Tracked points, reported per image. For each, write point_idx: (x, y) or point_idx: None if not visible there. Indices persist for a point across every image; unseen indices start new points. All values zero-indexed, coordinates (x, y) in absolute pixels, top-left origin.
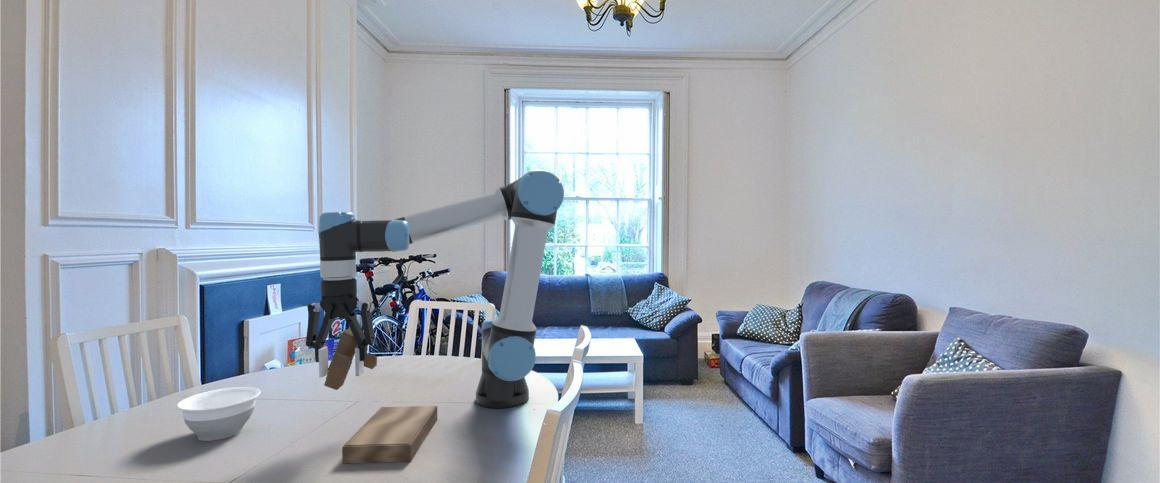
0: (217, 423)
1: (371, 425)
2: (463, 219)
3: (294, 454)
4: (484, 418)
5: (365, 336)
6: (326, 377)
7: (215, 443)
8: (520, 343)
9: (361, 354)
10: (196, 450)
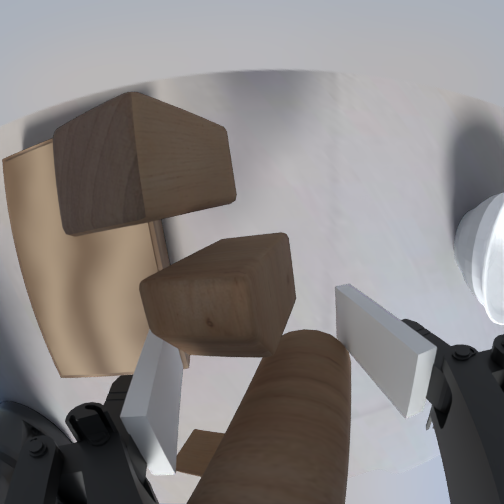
0: (485, 203)
1: (132, 245)
2: None
3: (289, 150)
4: (4, 362)
5: (40, 490)
6: (283, 234)
7: (460, 197)
8: None
9: (123, 399)
10: (467, 169)
